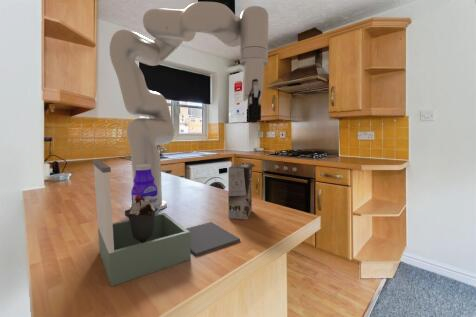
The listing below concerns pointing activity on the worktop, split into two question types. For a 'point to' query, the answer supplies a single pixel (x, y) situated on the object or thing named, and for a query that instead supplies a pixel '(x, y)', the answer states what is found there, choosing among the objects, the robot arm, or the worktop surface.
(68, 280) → the worktop surface
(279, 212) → the worktop surface
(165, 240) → the open box
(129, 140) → the robot arm
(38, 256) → the worktop surface
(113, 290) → the worktop surface
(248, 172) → the coffee box
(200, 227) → the mat
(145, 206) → the sundae
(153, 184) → the bottle
